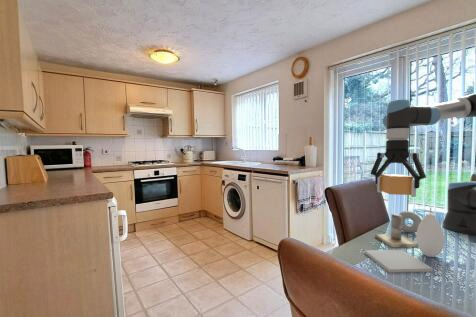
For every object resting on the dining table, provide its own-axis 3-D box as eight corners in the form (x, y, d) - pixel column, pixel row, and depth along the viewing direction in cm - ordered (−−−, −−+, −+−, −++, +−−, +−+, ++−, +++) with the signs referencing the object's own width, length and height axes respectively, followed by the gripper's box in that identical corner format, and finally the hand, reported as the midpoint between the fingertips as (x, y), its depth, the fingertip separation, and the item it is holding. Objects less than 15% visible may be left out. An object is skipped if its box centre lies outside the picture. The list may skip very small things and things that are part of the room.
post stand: (399, 236, 105) (400, 211, 105) (419, 246, 94) (419, 218, 94) (375, 236, 105) (375, 211, 104) (392, 247, 94) (392, 219, 93)
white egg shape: (447, 262, 81) (448, 210, 80) (418, 258, 84) (419, 208, 84) (439, 253, 88) (441, 205, 87) (413, 249, 91) (414, 203, 91)
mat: (401, 252, 89) (401, 249, 89) (432, 271, 75) (432, 268, 75) (364, 253, 89) (364, 250, 89) (389, 272, 75) (389, 269, 75)
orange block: (412, 194, 91) (413, 176, 90) (390, 194, 92) (390, 176, 92) (401, 191, 99) (401, 174, 98) (380, 190, 100) (380, 174, 99)
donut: (422, 234, 108) (423, 212, 107) (421, 236, 105) (422, 214, 105) (396, 229, 114) (396, 208, 114) (395, 231, 112) (395, 210, 111)
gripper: (438, 139, 87) (435, 197, 88) (370, 140, 106) (369, 189, 107) (431, 138, 83) (429, 200, 84) (362, 140, 102) (361, 191, 102)
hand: (395, 194), depth 95 cm, fingers closed on orange block, 11 cm apart
